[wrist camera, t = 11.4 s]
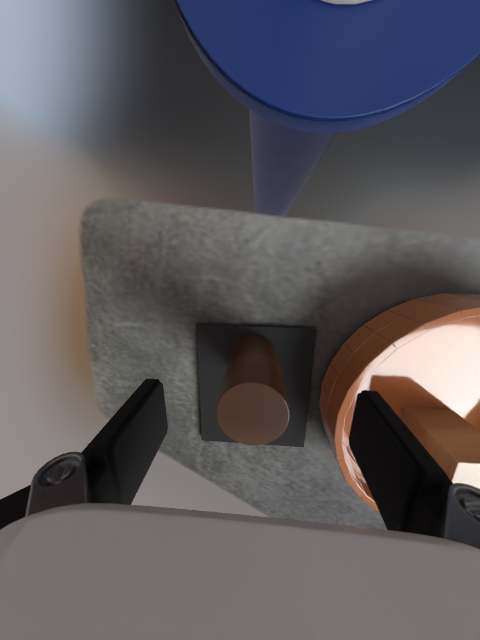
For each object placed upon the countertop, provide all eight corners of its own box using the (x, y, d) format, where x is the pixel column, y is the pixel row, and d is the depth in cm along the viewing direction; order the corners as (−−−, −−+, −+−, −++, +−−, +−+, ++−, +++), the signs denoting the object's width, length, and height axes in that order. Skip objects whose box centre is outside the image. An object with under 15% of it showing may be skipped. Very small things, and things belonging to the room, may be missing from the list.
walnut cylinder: (231, 334, 19) (214, 380, 12) (278, 335, 18) (292, 384, 11) (231, 376, 20) (216, 443, 13) (276, 378, 20) (287, 447, 12)
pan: (330, 290, 18) (354, 300, 13) (583, 294, 16) (701, 307, 12) (309, 469, 22) (321, 519, 18) (503, 483, 21) (566, 541, 17)
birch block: (402, 406, 19) (457, 461, 14) (451, 408, 19) (526, 466, 14) (393, 443, 20) (442, 508, 15) (439, 446, 20) (505, 514, 15)
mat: (197, 323, 19) (196, 324, 19) (315, 326, 18) (316, 328, 18) (202, 437, 22) (201, 440, 22) (303, 444, 22) (303, 447, 21)
